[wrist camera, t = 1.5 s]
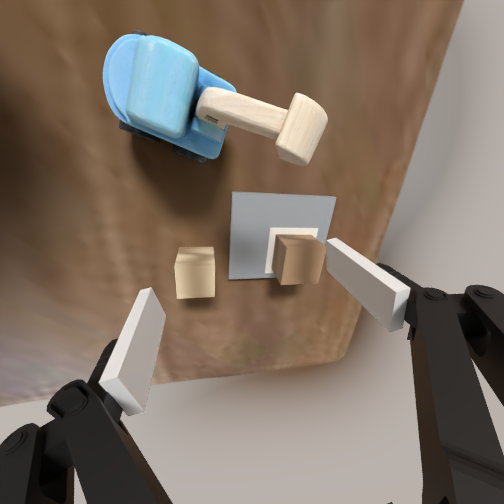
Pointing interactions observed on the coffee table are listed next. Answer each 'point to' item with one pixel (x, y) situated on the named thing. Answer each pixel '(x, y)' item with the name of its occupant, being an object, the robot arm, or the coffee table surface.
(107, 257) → the coffee table surface
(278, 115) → the toy excavator
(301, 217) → the pad
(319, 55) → the coffee table surface
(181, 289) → the maple block
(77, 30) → the coffee table surface
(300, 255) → the walnut block
